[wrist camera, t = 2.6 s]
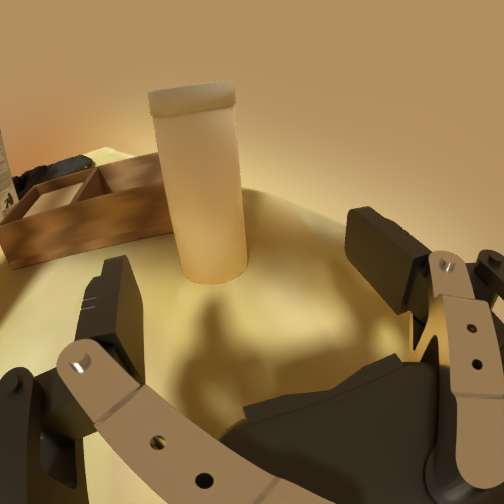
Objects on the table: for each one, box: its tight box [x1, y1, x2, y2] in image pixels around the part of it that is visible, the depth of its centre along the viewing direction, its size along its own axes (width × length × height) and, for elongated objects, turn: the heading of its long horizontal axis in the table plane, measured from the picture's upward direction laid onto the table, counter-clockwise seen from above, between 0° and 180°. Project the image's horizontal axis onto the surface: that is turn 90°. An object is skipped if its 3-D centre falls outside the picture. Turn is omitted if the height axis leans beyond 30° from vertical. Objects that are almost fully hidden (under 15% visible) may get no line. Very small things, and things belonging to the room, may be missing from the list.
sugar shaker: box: [148, 80, 248, 284], centre depth 20 cm, size 5×5×14 cm
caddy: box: [0, 152, 174, 270], centre depth 31 cm, size 20×13×5 cm, turn 106°
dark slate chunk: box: [12, 155, 92, 200], centre depth 51 cm, size 15×22×5 cm
